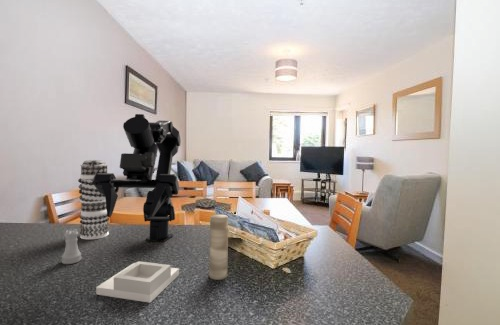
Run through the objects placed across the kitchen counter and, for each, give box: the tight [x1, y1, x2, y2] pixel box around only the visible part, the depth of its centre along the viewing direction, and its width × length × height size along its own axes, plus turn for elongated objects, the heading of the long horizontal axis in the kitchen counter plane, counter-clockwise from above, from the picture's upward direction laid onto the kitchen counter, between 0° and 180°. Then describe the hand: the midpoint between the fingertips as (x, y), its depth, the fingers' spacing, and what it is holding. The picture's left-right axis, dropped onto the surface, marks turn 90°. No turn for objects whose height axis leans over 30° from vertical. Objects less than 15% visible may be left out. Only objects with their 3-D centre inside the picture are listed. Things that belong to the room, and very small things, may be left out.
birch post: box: [208, 214, 229, 281], centre depth 64 cm, size 4×4×14 cm
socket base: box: [95, 260, 180, 303], centre depth 59 cm, size 12×12×4 cm
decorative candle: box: [77, 159, 110, 240], centre depth 90 cm, size 9×9×25 cm
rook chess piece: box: [60, 228, 83, 265], centre depth 70 cm, size 4×4×8 cm
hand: (130, 216), depth 61 cm, fingers open, 9 cm apart
